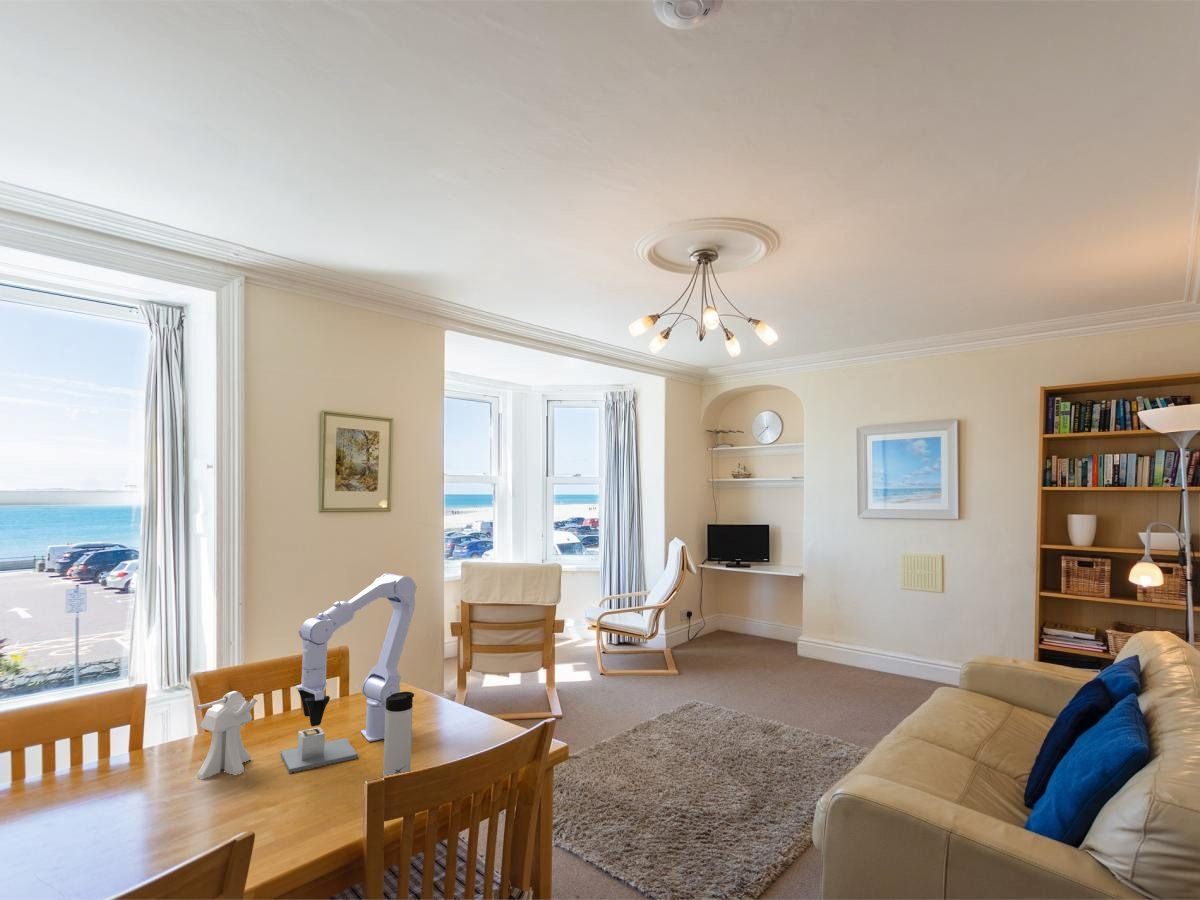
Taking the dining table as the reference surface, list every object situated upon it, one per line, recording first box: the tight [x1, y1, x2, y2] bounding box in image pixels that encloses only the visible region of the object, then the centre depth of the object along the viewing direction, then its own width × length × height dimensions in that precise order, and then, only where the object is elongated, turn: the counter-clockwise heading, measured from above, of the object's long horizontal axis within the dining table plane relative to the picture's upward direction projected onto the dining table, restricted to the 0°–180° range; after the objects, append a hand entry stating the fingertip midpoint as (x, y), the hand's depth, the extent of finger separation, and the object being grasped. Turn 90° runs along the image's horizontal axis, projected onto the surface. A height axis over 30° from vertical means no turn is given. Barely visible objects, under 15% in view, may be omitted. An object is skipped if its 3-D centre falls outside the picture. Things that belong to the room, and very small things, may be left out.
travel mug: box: [382, 691, 415, 778], centre depth 154 cm, size 6×7×20 cm
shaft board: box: [280, 730, 359, 774], centre depth 164 cm, size 16×12×6 cm
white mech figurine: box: [196, 690, 258, 780], centre depth 157 cm, size 12×13×18 cm
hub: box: [297, 726, 326, 761], centre depth 163 cm, size 5×5×6 cm
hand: (312, 720), depth 163 cm, fingers open, 7 cm apart
